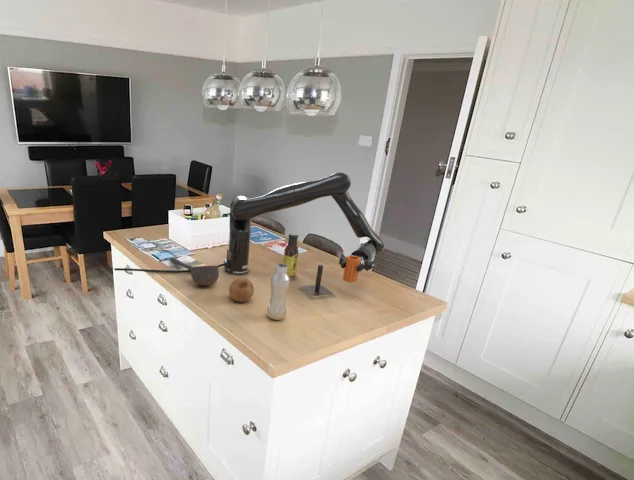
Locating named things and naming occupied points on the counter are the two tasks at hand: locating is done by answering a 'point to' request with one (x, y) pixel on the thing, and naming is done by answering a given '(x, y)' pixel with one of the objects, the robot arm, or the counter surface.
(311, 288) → the stand
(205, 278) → the ladle
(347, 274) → the orange grooved tube
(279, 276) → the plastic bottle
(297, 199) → the robot arm
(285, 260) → the sauce bottle
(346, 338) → the counter surface
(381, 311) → the counter surface
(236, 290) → the onion
